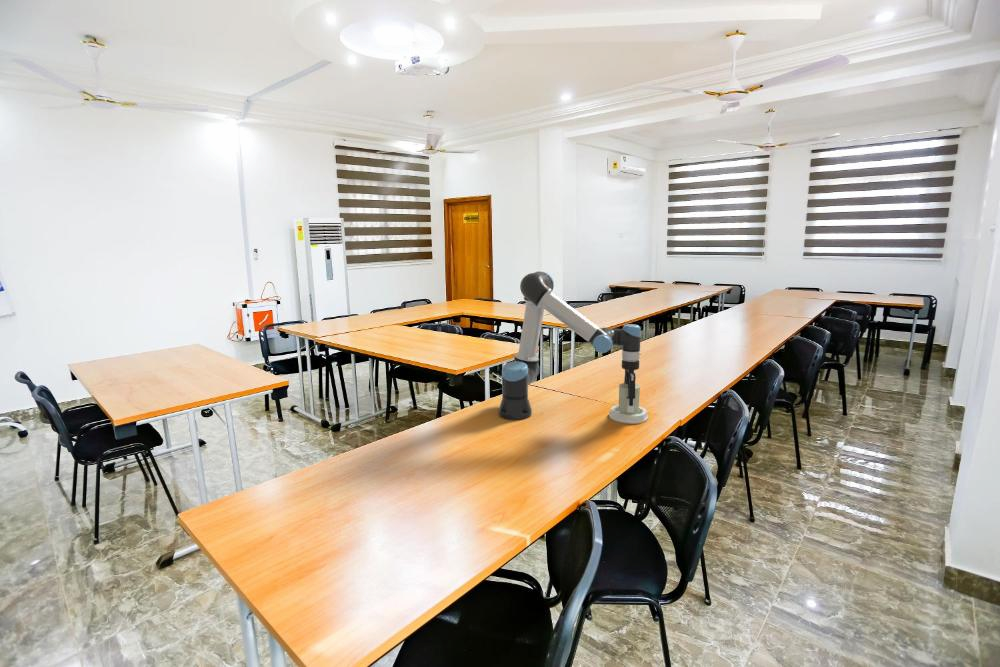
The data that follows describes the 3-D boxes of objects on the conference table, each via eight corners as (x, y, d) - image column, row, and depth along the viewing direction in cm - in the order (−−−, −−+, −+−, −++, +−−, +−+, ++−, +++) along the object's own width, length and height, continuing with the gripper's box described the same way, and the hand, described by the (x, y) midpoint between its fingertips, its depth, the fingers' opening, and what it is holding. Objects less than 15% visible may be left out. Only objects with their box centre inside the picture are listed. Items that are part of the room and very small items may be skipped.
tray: (611, 423, 215) (611, 416, 214) (607, 409, 232) (607, 403, 231) (651, 424, 213) (651, 417, 213) (644, 410, 230) (644, 404, 229)
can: (613, 409, 224) (614, 383, 222) (630, 405, 228) (631, 380, 226) (627, 415, 216) (628, 389, 214) (643, 412, 220) (644, 386, 217)
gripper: (643, 366, 207) (641, 417, 211) (635, 354, 228) (633, 401, 232) (625, 365, 207) (623, 416, 212) (618, 353, 228) (616, 400, 233)
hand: (628, 408), depth 222 cm, fingers closed on can, 9 cm apart
